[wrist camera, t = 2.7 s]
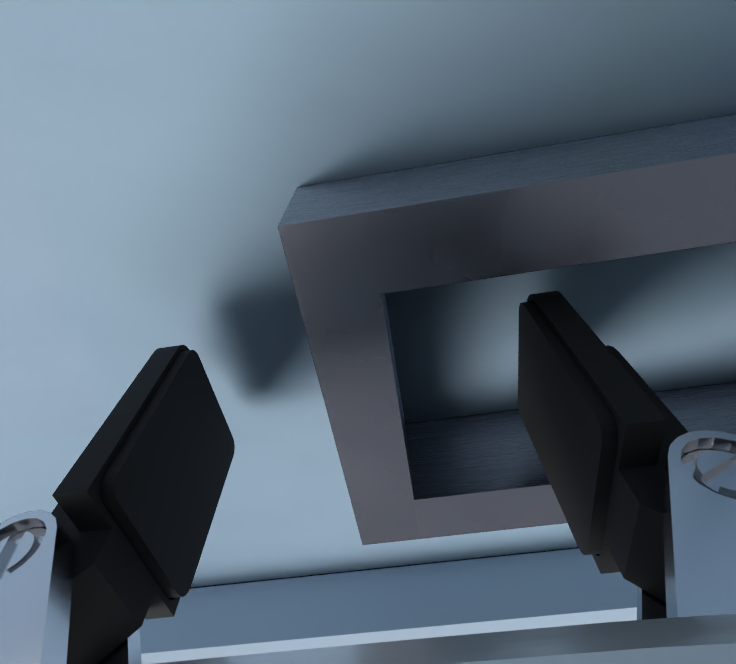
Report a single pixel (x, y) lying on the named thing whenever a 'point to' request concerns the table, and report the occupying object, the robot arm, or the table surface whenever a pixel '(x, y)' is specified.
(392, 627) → the board
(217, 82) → the table surface
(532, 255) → the steel link
